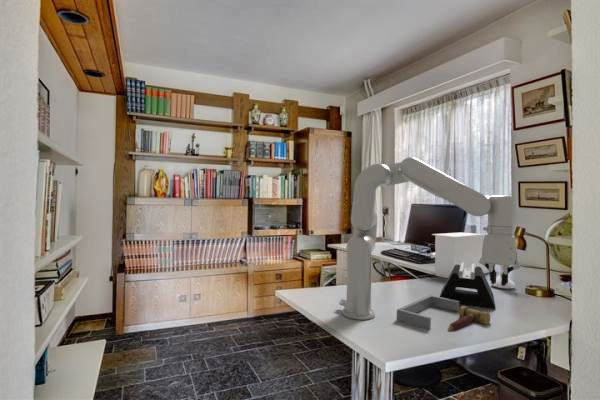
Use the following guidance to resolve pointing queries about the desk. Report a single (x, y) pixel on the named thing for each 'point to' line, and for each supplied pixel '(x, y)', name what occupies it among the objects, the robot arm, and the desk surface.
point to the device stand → (469, 280)
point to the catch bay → (411, 310)
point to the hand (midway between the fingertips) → (498, 283)
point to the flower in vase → (499, 278)
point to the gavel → (469, 317)
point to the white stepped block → (457, 252)
